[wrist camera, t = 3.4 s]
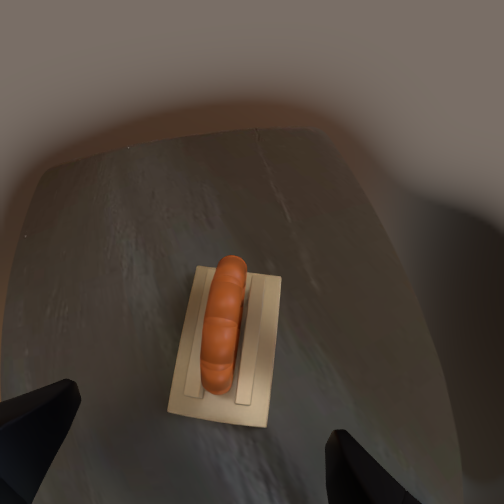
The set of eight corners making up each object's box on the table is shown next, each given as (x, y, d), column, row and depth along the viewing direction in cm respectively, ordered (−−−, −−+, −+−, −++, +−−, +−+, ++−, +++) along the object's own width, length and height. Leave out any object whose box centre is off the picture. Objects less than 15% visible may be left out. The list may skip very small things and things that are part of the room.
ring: (230, 398, 17) (227, 392, 10) (207, 395, 17) (188, 385, 10) (245, 292, 22) (251, 228, 15) (225, 290, 22) (221, 224, 15)
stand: (265, 426, 17) (271, 430, 14) (169, 411, 17) (157, 411, 14) (279, 281, 23) (286, 260, 20) (198, 270, 24) (193, 248, 21)
